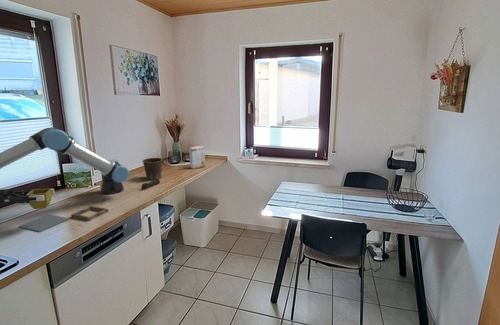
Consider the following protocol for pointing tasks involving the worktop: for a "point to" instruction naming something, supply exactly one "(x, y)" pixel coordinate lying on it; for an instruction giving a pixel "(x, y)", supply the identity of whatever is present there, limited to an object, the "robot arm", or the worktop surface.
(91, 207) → the square wooden frame
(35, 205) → the flower pot
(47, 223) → the mat
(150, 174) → the plant pot
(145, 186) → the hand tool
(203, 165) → the cracker box
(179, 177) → the worktop surface
